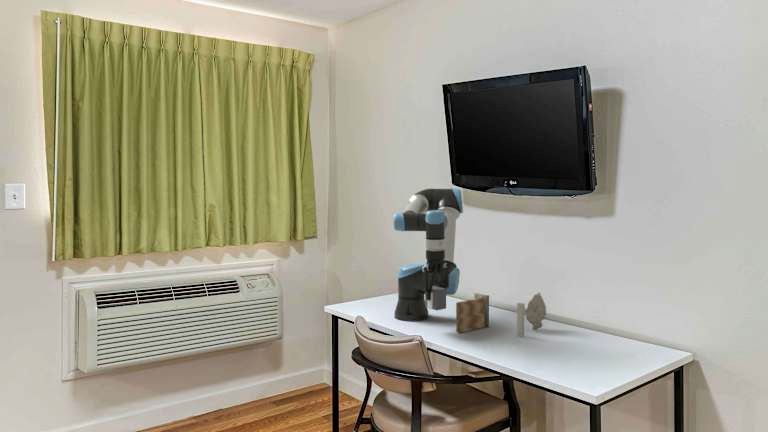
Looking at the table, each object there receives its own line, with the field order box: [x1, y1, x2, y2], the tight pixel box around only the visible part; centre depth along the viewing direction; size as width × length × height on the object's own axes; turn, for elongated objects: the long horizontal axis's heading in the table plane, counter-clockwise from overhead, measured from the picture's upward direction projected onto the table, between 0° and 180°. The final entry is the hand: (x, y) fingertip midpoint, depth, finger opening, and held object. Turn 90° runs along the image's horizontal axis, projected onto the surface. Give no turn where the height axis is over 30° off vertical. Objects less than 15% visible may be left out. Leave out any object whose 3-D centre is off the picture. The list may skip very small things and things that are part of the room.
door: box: [455, 298, 486, 334], centre depth 240 cm, size 15×2×12 cm, turn 126°
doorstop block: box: [424, 286, 447, 311], centre depth 237 cm, size 7×5×8 cm
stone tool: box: [524, 292, 547, 331], centre depth 239 cm, size 11×4×15 cm, turn 119°
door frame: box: [474, 292, 526, 338], centre depth 240 cm, size 26×2×13 cm, turn 37°
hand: (435, 306), depth 238 cm, fingers closed on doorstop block, 5 cm apart
